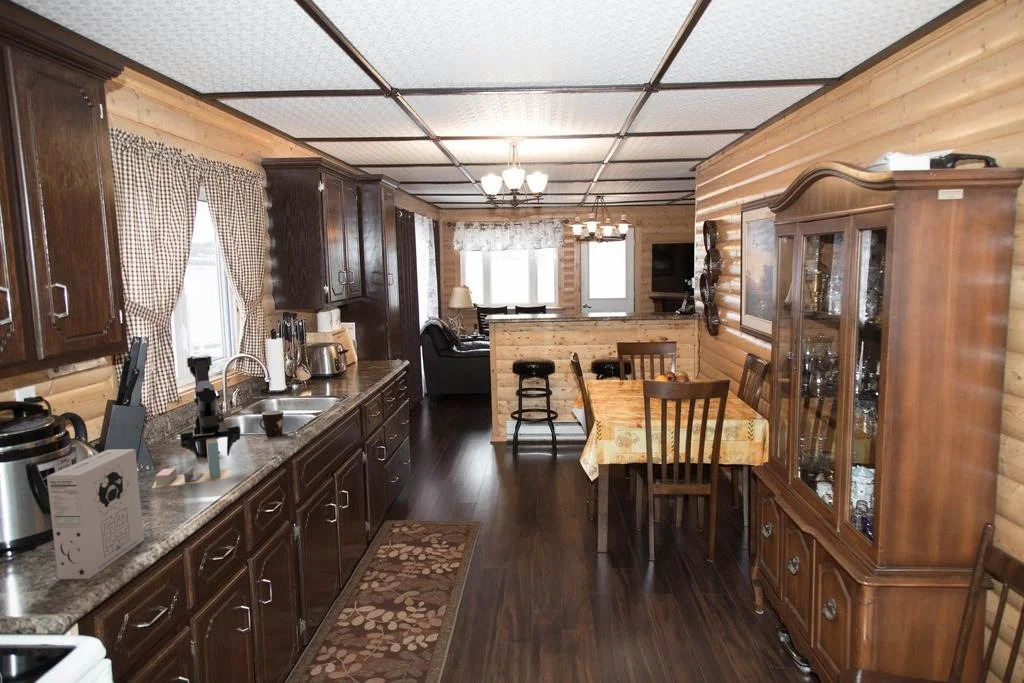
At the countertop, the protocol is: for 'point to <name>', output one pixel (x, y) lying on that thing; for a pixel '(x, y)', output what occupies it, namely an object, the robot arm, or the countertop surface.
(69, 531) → the cereal box
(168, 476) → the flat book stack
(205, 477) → the shelf plank
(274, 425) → the coffee mug
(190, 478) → the metal bookend
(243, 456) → the countertop surface
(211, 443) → the boxed book
